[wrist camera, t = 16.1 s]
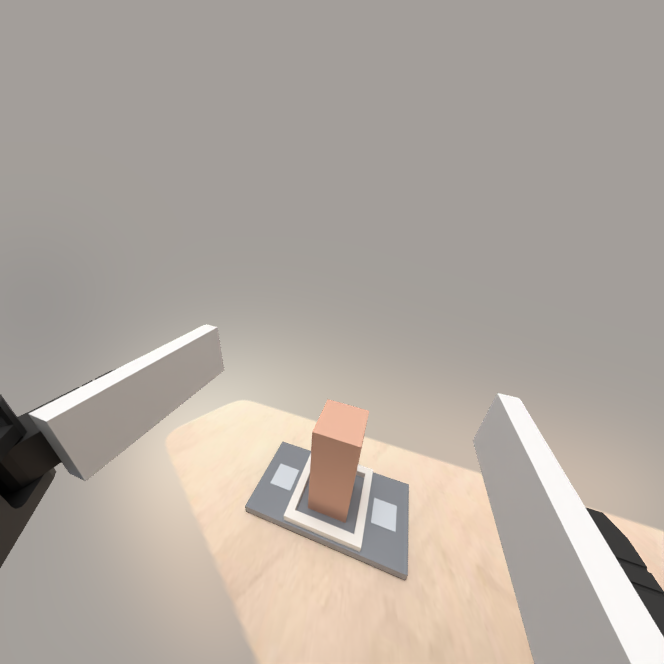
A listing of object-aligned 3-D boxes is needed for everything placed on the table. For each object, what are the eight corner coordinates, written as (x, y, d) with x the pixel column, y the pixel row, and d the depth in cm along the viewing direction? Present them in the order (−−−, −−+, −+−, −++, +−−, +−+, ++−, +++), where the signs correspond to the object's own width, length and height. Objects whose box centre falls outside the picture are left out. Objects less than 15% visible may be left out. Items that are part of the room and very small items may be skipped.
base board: (406, 489, 34) (410, 480, 33) (405, 580, 26) (409, 571, 25) (282, 446, 39) (282, 437, 38) (245, 511, 30) (244, 501, 29)
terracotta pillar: (354, 483, 33) (369, 410, 27) (345, 523, 29) (360, 447, 23) (320, 471, 34) (327, 399, 28) (307, 507, 30) (312, 431, 24)
